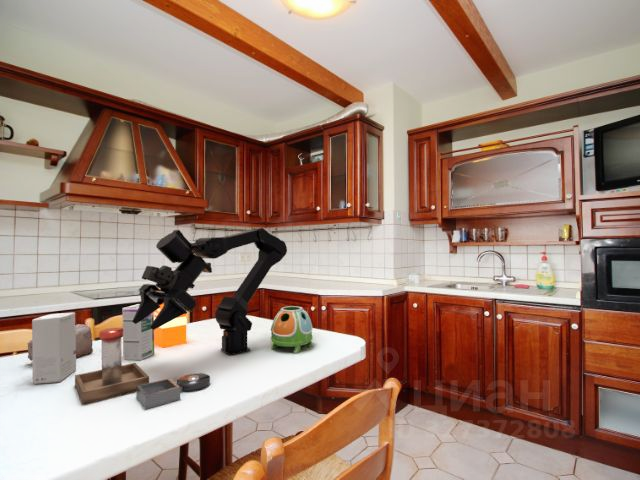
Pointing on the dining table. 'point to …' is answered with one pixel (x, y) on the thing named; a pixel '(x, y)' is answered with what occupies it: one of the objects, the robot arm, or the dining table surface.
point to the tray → (93, 390)
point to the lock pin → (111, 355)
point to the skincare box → (53, 347)
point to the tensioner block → (169, 389)
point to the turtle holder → (291, 328)
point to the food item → (81, 341)
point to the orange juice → (170, 331)
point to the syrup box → (137, 335)
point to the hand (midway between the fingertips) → (142, 325)
